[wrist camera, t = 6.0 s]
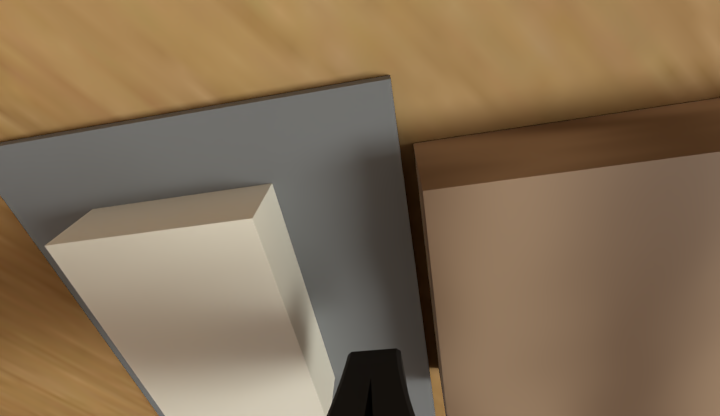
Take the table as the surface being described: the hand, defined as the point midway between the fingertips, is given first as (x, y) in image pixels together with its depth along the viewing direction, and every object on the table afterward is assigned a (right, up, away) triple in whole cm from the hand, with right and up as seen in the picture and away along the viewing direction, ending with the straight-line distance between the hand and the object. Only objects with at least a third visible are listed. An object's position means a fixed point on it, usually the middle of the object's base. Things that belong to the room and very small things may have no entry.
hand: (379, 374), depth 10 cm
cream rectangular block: (-5, 0, +2) cm, 6 cm away
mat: (-4, 0, +4) cm, 6 cm away
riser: (+7, +3, +2) cm, 8 cm away
